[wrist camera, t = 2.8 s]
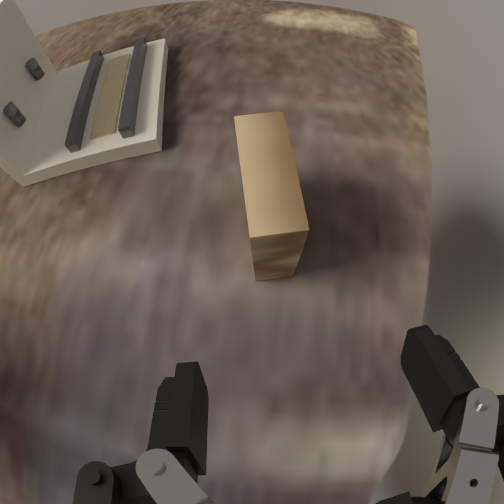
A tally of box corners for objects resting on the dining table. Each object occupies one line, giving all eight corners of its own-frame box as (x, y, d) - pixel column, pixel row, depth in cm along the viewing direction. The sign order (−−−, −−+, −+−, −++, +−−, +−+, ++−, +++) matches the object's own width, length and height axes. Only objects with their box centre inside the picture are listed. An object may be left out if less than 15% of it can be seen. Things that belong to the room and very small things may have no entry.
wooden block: (255, 281, 25) (249, 237, 16) (242, 183, 28) (232, 106, 19) (293, 276, 25) (309, 229, 16) (276, 179, 28) (280, 101, 19)
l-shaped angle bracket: (23, 186, 30) (-73, 97, 13) (54, 84, 35) (1, -2, 18) (161, 150, 30) (93, -3, 13) (168, 49, 35) (137, -63, 18)
